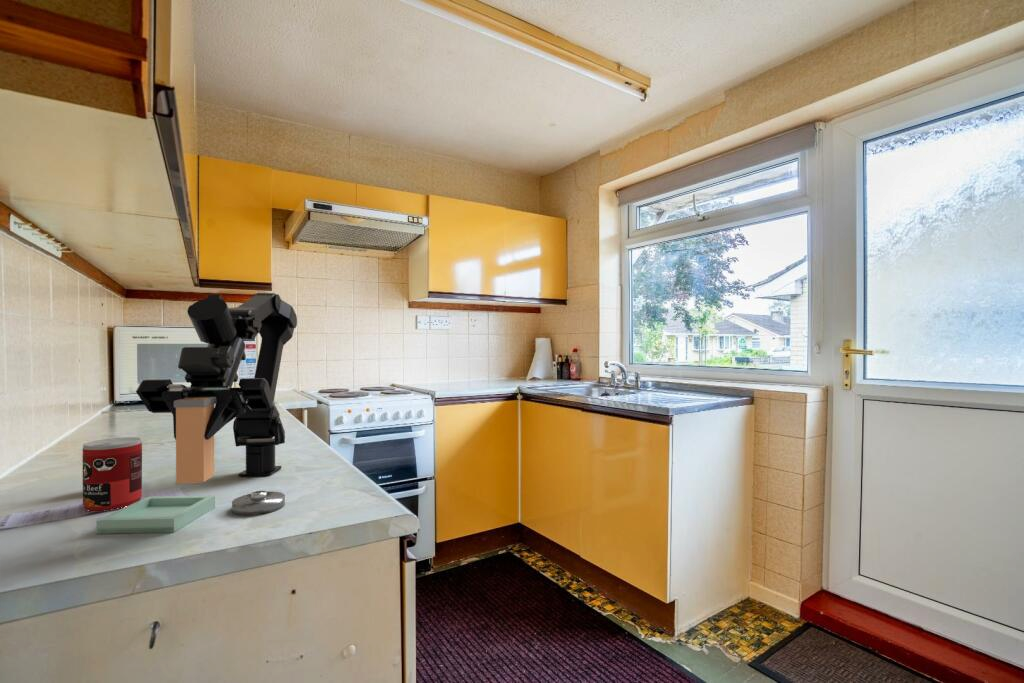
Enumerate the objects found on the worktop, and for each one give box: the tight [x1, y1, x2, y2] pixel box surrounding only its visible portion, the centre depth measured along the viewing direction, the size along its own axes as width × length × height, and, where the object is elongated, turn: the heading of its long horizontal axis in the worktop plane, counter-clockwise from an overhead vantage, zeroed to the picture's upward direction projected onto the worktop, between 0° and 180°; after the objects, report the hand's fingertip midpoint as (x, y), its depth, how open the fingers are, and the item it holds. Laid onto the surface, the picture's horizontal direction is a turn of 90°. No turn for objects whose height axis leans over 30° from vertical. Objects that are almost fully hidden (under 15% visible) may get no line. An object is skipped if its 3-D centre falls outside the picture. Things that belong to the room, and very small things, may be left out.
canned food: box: [82, 436, 143, 512], centre depth 85 cm, size 8×8×11 cm
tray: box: [96, 495, 216, 535], centre depth 78 cm, size 11×11×2 cm
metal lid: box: [231, 490, 286, 517], centre depth 83 cm, size 8×8×2 cm
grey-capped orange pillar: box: [174, 397, 216, 484], centre depth 76 cm, size 4×4×12 cm
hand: (191, 438), depth 75 cm, fingers closed on grey-capped orange pillar, 4 cm apart
